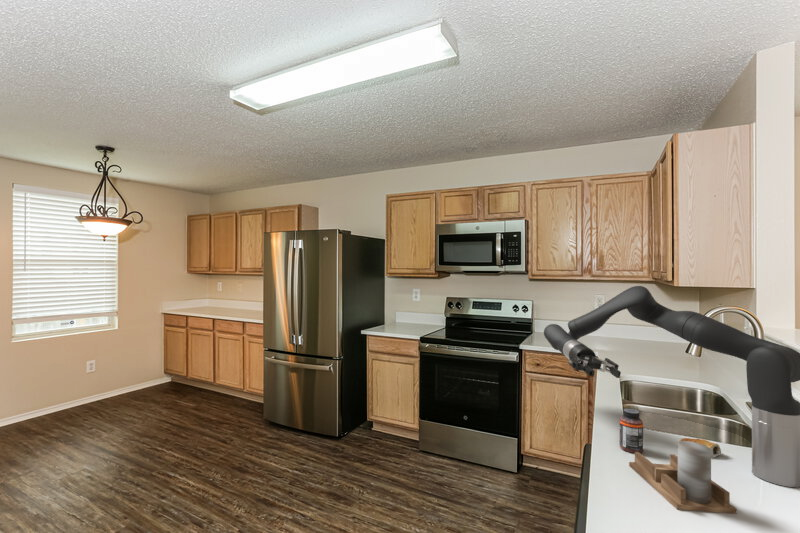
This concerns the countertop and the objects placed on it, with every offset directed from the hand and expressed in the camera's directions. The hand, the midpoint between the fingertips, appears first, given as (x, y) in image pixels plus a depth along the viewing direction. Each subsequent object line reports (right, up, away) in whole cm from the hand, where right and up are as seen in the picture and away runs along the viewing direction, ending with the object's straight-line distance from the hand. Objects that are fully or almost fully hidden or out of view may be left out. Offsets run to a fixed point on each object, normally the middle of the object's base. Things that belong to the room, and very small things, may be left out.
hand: (606, 374), depth 121 cm
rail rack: (+2, -19, -28) cm, 34 cm away
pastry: (+24, -21, -7) cm, 33 cm away
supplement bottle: (+4, -20, -7) cm, 22 cm away
